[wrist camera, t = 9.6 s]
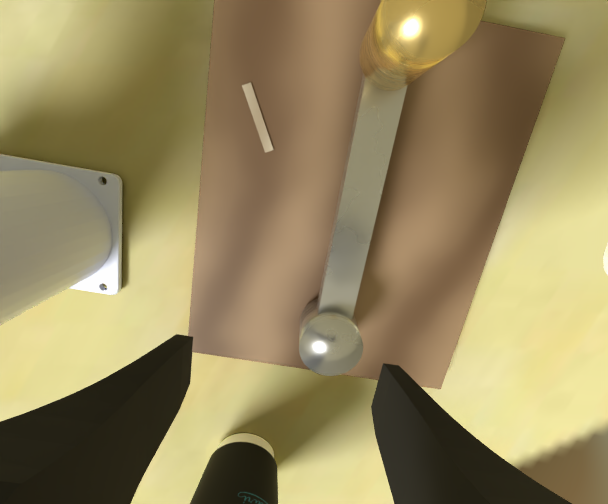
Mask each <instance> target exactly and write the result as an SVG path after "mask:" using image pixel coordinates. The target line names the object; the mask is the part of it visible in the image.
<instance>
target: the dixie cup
mask: <svg viewBox="0 0 608 504" xmlns="http://www.w3.org/2000/svg"><path fill="white" fill-rule="evenodd" d="M190 504H278V483H277V465H276V462H275V459H274V451H273V449H272V447H271V446H270V444H269V443H268V442H267V441H266V440H264V439H263V438H261V437H259V436H257V435H254V434H249V433H239V434H234V435H231V436H229V437H227V438H225V439H224V440H223V441H222V442H221V443H220V444H219V446H218V448H217V450H216V451H215V452H214V453H213V454H212V456H211V458H210V460H209V462H208V464H207V467H206V469H205V471H204V473H203V476H202V478H201V480H200V482H199V485H198V487H197V489H196V491H195V494H194V496H193V498H192V501H191V503H190Z"/></svg>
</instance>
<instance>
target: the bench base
mask: <svg viewBox="0 0 608 504" xmlns="http://www.w3.org/2000/svg"><path fill="white" fill-rule="evenodd" d="M381 1H382V0H214V11H213V24H212V37H211V50H210V63H209V76H208V88H207V101H206V114H205V127H204V140H203V153H202V165H201V178H200V191H199V204H198V217H197V230H196V243H195V255H194V268H193V281H192V294H191V307H190V320H189V333H188V336H191V337H193V346H192V352H196V353H202V354H209V355H216V356H222V357H229V358H236V359H242V360H249V361H256V362H262V363H269V364H276V365H282V366H289V367H296V368H302V369H309V368H308V367H307V366H306V365H305V364H304V363H303V361H302V359H301V357H300V353H299V335H300V317H301V314H302V312H303V310H304V308H305V307H306V306H307V305H308V304H309V303H310V302H312V301H314V300H316V299H318V298H319V293H320V288H321V283H322V278H323V273H324V268H325V263H326V258H327V253H328V248H329V243H330V238H331V233H332V228H333V222H334V217H335V212H336V207H337V202H338V197H339V192H340V187H341V182H342V177H343V172H344V167H345V162H346V157H347V152H348V147H349V142H350V137H351V132H352V127H353V122H354V117H355V112H356V107H357V102H358V97H359V92H360V87H361V82H362V77H363V71H362V69H361V65H360V48H361V44H362V41H363V38H364V36H365V34H366V32H367V30H368V28H369V26H370V24H371V22H372V20H373V18H374V15H375V13H376V11H377V9H378V7H379V5H380V3H381ZM564 40H565V38H562V37H557V36H552V35H548V34H543V33H538V32H533V31H528V30H523V29H518V28H514V27H509V26H504V25H499V24H494V23H489V22H485V21H480V23H479V25H478V27H477V29H476V30H475V32H474V33H473V35H472V36H471V37H470V38H469V39H468V40H467V42H466V43H464V44H463V45H462V46H461V47H460V48H458V49H457V50H456V51H454V52H453V53H451V54H450V55H449V56H447V57H446V58H445V59H443V60H442V61H440V62H439V63H438V64H436V65H435V66H433V67H432V68H431V69H429V70H428V71H427V72H425V73H424V74H422V75H421V76H420V77H418V78H417V79H416V80H414V81H413V82H411V83H410V84H409V85H407V89H406V94H405V98H404V102H403V106H402V111H401V115H400V119H399V123H398V127H397V132H396V136H395V140H394V144H393V148H392V153H391V157H390V161H389V165H388V170H387V174H386V178H385V182H384V186H383V191H382V195H381V199H380V203H379V208H378V212H377V216H376V220H375V224H374V229H373V233H372V237H371V241H370V245H369V250H368V254H367V258H366V262H365V267H364V271H363V275H362V279H361V283H360V288H359V292H358V296H357V300H356V305H355V309H354V316H355V319H356V322H357V326H358V329H359V332H360V335H361V338H362V342H363V353H362V356H361V358H360V360H359V362H358V363H357V364H356V366H355V367H353V368H352V369H351V370H349V371H348V372H346V373H343V374H342V375H349V376H356V377H362V378H369V379H376V380H379V376H380V373H381V369H382V365H383V363H385V364H393V365H399V366H400V367H401V368H402V369H403V370H404V371H405V372H406V373H407V374H408V375H409V376H410V377H411V378H412V379H413V380H414V381H415V382H416V383H417V384H418V385H419V386H422V387H429V388H436V389H441V387H442V384H443V381H444V378H445V375H446V373H447V370H448V367H449V364H450V361H451V358H452V356H453V353H454V350H455V347H456V344H457V342H458V339H459V336H460V333H461V330H462V328H463V325H464V322H465V319H466V316H467V313H468V311H469V308H470V305H471V302H472V299H473V297H474V294H475V291H476V288H477V285H478V283H479V280H480V277H481V274H482V271H483V268H484V266H485V263H486V260H487V257H488V254H489V252H490V249H491V246H492V243H493V240H494V237H495V235H496V232H497V229H498V226H499V223H500V221H501V218H502V215H503V212H504V209H505V207H506V204H507V201H508V198H509V195H510V192H511V190H512V187H513V184H514V181H515V178H516V176H517V173H518V170H519V167H520V164H521V161H522V159H523V156H524V153H525V150H526V147H527V145H528V142H529V139H530V136H531V133H532V131H533V128H534V125H535V122H536V119H537V116H538V114H539V111H540V108H541V105H542V102H543V100H544V97H545V94H546V91H547V88H548V85H549V83H550V80H551V77H552V74H553V71H554V69H555V66H556V63H557V60H558V57H559V55H560V52H561V49H562V46H563V43H564ZM309 370H310V369H309Z"/></svg>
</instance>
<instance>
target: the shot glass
mask: <svg viewBox="0 0 608 504" xmlns="http://www.w3.org/2000/svg"><path fill="white" fill-rule="evenodd" d="M603 257H604V270H605V272H606V274H607V275H608V244H607V246H606V249H605V252H604V255H603Z"/></svg>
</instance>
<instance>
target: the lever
mask: <svg viewBox="0 0 608 504" xmlns="http://www.w3.org/2000/svg"><path fill="white" fill-rule="evenodd" d="M485 6H486V0H382V1H381V3H380V5H379V7H378V9H377V11H376V13H375V15H374V18H373V20H372V22H371V24H370V26H369V28H368V30H367V32H366V34H365V36H364V38H363V41H362V44H361V48H360V65H361V69H362V71H363V77H362V82H361V87H360V92H359V97H358V102H357V107H356V112H355V117H354V122H353V127H352V132H351V137H350V142H349V147H348V152H347V157H346V162H345V167H344V172H343V177H342V182H341V187H340V192H339V197H338V202H337V207H336V212H335V217H334V222H333V228H332V233H331V238H330V243H329V248H328V253H327V258H326V263H325V268H324V273H323V278H322V283H321V288H320V293H319V298H318V299H316V300H314V301H312V302H310V303H309V304H308V305H307V306H306V307H305V308H304V310H303V312H302V314H301V317H300V335H299V353H300V357H301V359H302V361H303V363H304V364H305V365H306V366H307V367H308V368H309V369H310V370H312V371H313V372H315V373H318V374H321V375H325V376H335V375H340V374H343V373H346V372H348V371H349V370H351V369H352V368H353V367H355V366H356V364H357V363H358V362H359V360H360V358H361V356H362V353H363V342H362V338H361V335H360V332H359V329H358V326H357V322H356V319H355V316H354V309H355V305H356V300H357V296H358V292H359V288H360V283H361V279H362V275H363V271H364V267H365V262H366V258H367V254H368V250H369V245H370V241H371V237H372V233H373V229H374V224H375V220H376V216H377V212H378V208H379V203H380V199H381V195H382V191H383V186H384V182H385V178H386V174H387V170H388V165H389V161H390V157H391V153H392V148H393V144H394V140H395V136H396V132H397V127H398V123H399V119H400V115H401V111H402V106H403V102H404V98H405V94H406V89H407V85H409V84H410V83H411V82H413V81H414V80H416V79H417V78H418V77H420V76H421V75H422V74H424V73H425V72H427V71H428V70H429V69H431V68H432V67H433V66H435V65H436V64H438V63H439V62H440V61H442V60H443V59H445V58H446V57H447V56H449V55H450V54H451V53H453V52H454V51H456V50H457V49H458V48H460V47H461V46H462V45H463V44H464V43H466V42H467V40H468V39H469V38H470V37H471V36H472V35H473V33H474V32H475V30H476V29H477V27H478V25H479V23H480V21H481V19H482V16H483V13H484V10H485Z"/></svg>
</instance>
